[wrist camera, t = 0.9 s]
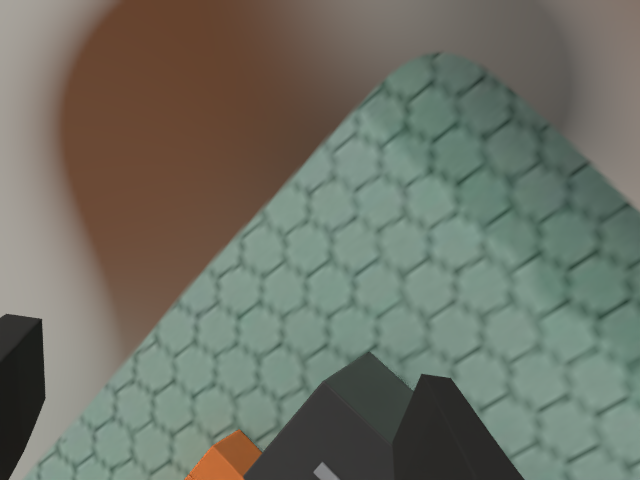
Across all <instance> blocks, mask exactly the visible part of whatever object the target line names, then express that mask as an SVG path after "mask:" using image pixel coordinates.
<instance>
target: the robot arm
mask: <svg viewBox="0 0 640 480" xmlns="http://www.w3.org/2000/svg"><path fill="white" fill-rule="evenodd" d="M43 356H44V355H43V333H42V319H39V318H32V317H25V316H18V315H10V314H6V315H4V316H2V317H1V318H0V480H9V478H10V476H11V474H12V472H13V471H14V469H15V467H16V465H17V463H18V461H19V459H20V458H21V456H22V454H23V452H24V450H25V447H26V445H27V443H28V440H29V438H30V436H31V433H32V431H33V428H34V426H35V424H36V421H37V418H38V416H39V413H40V411H41V408H42V406H43V403H44V401H45V378H44V357H43ZM392 447H393V466H394V480H524V478H523V477H522V476H521V475H520V473H519V472H518V471H517V469H516V468H515V467H514V465H513V464H512V463H511V461H510V460H509V459H508V457H507V456H506V455H505V453H504V452H503V451H502V449H501V448H500V446H499V445H498V444H497V442H496V441H495V440H494V438H493V437H492V435H491V434H490V433H489V431H488V430H487V428H486V427H485V426H484V424H483V423H482V421H481V420H480V419H479V417H478V416H477V414H476V413H475V411H474V410H473V409H472V407H471V406H470V404H469V403H468V402H467V400H466V399H465V397H464V396H463V394H462V393H461V392H460V390H459V389H458V387H457V386H456V385H455V383H454V382H453V381H452V379H451V378H446V377H439V376H432V375H425V374H421V376H420V379H419V381H418V383H417V386H416V388H415V390H414V393H413V395H412V397H411V400H410V402H409V404H408V407H407V409H406V411H405V414H404V416H403V418H402V421H401V423H400V425H399V428H398V430H397V432H396V435H395V437H394V439H393V442H392Z"/></svg>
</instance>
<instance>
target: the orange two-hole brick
mask: <svg viewBox="0 0 640 480" xmlns="http://www.w3.org/2000/svg"><path fill="white" fill-rule="evenodd" d="M261 454H262V452H261V451H260V450H259V449H258V448H257V447H256V446H255V445H254V444H253V443H252V442H251V441H250V440H249V439H248V438H247V437H246V436H245V435H244V433H243V432H242V431H241V430H237V431H235V432H234V433H232V434H231V435H229V436H227V437H226V438H224V439H222V440H221V441H219V442H218V443H216V444H214V445H213V446H212V447H211V448H210V449H209V450H208V451H207V453H206V454H205V455H204V456H203V457H202V459H201V460H200V461H199V462H198V463H197V465H196V466H195V467H194V468H193V470H192V471H191V472H190V474H189V475H188V476H187V477H186V478H185V479H184V480H245V479H244V478H243V476H244V474H245V473H246V472H247V471H248V469H249V468H250V467H251V466H252V465H253V463H254V462H255V461H256V460H257V459H258V458H259V456H260V455H261Z"/></svg>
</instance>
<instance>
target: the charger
mask: <svg viewBox="0 0 640 480" xmlns="http://www.w3.org/2000/svg"><path fill="white" fill-rule="evenodd" d="M413 393H414V392H413V391H412V390H411V389H410V388H409V387H408V386H407V385H406V384H405V383H404V382H402V381H401V380H400V379H399V378H398V377H397V376H396V375H395V374H394V373H393V372H391V371H390V370H389V369H388V368H387V367H386V366H385V365H384V364H383V363H381V362H380V361H379V360H378V359H377V358H376V357H375V356H374V355H373V354H372V353H370V352H367V353H366V354H364V355H363V356H361V357H360V358H358V359H356V360H355V361H353V362H352V363H350V364H349V365H347V366H346V367H344V368H343V369H341V370H340V371H338V372H336V373H335V374H333V375H332V376H330V377H329V378H327V379H326V380H324V381H323V382H322V383H321V384H320V385H319V386H318V387H317V389H316V390H315V391H314V392H313V393H312V395H311V396H310V397H309V398H308V399H307V401H306V402H305V403H304V404H303V405H302V406H301V408H300V409H299V410H298V411H297V412H296V414H295V415H294V416H293V417H292V418H291V420H290V421H289V422H288V423H287V424H286V425H285V427H284V428H283V429H282V430H281V431H280V433H279V434H278V435H277V436H276V437H275V439H274V440H273V441H272V442H271V443H270V444H269V446H268V447H267V448H266V449H265V450H264V452H263V453H262V454H261V455H260V456H259V458H258V459H257V460H256V461H255V462H254V463H253V465H252V466H251V467H250V468H249V469H248V471H247V472H246V473H245V474H244V476H243V478H244V479H245V480H394V466H393V447H392V442H393V439H394V437H395V435H396V432H397V430H398V428H399V425H400V423H401V421H402V418H403V416H404V414H405V411H406V409H407V407H408V404H409V402H410V400H411V397H412V395H413Z"/></svg>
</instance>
